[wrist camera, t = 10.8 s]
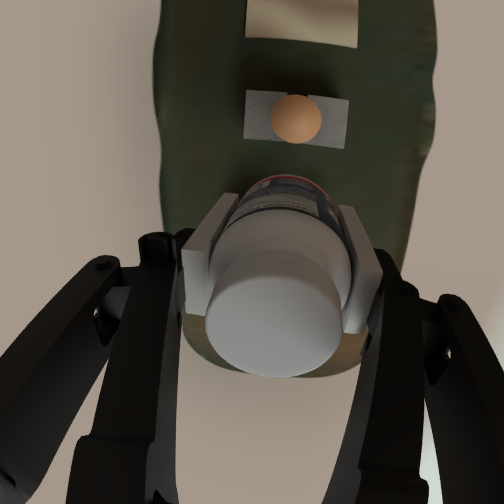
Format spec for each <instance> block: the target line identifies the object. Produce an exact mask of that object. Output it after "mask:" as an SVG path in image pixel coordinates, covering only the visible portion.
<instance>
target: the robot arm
mask: <svg viewBox="0 0 504 504" xmlns="http://www.w3.org/2000/svg"><path fill="white" fill-rule="evenodd" d="M238 201H239V194H235V193H224V194H223V195H222V196H221V198H220V199H219V200H218V202H217V203H216V204H215V205H214V207H213V208H212V209H211V211H210V212H209V213H208V214H207V216H206V217H205V218H204V220H203V221H202V222H201V224H200V225H199V226H198V228H197V229H191V228H185V229H183V230H181V231H179V232H177V233H176V234H175V236H174V235H172V234H170V233H167V232H152V233H149V234H145V235H143V236H142V237H140V238H139V240H138V244H139V253H140V260H141V262H140V264H139V266H136V267H120V261H119V259H118V258H117V257H115V256H109V255H103V256H98V257H97V258H94V259H92V260H91V261H89V262H88V263H87V264H86V265H85V266H84V267H83V268H82V269H81V270H80V271H79V272H78V273H77V274H76V275H75V276H74V277H73V278H72V279H71V280H70V281H69V282H68V283H67V284H66V285H65V286H64V287H63V288H62V289H61V290H60V291H59V292H58V293H57V294H56V295H55V296H54V297H53V298H52V299H51V300H50V301H49V302H48V303H47V304H46V306H45V307H44V308H43V309H42V310H41V311H40V312H39V313H38V314H37V315H36V316H35V318H34V319H33V320H32V321H31V322H30V323H29V324H28V325H27V326H26V328H25V329H24V330H23V331H22V332H21V333H20V334H19V336H18V337H17V338H16V339H15V340H14V342H13V343H12V344H11V345H10V346H9V348H8V349H7V350H6V351H5V353H4V354H3V355H2V356H1V357H0V504H25V503H26V502H27V501H28V500H29V499H30V498H31V496H32V495H33V494H34V492H35V491H36V490H37V488H38V487H39V485H40V484H41V482H42V480H43V478H44V476H45V475H46V473H47V471H48V468H49V466H50V464H51V462H52V460H53V458H54V456H55V454H56V452H57V450H58V448H59V446H60V444H61V442H62V441H63V438H64V437H65V435H66V433H67V431H68V429H69V427H70V425H71V424H72V422H73V419H74V418H75V416H76V414H77V412H78V411H79V409H80V407H81V405H82V404H83V402H84V400H85V398H86V396H87V395H88V393H89V391H90V389H91V388H92V386H93V384H94V382H95V381H96V379H97V377H98V375H99V374H100V372H101V370H102V369H103V367H104V365H105V364H106V362H107V360H108V359H109V361H108V364H107V367H106V371H105V375H104V379H103V383H102V387H101V391H100V395H99V399H98V403H97V408H96V412H95V417H94V421H93V426H92V430H91V432H90V434H89V435H85V436H81V437H80V439H79V440H78V441H77V444H76V447H75V450H74V455H73V460H72V465H71V471H70V477H69V483H68V490H67V496H66V504H179V501H178V493H177V488H176V479H175V449H176V448H175V447H176V408H177V386H178V368H179V352H180V338H181V326H182V313H181V308H182V306H183V305H184V303H185V306H186V313H190V314H196V315H202V316H205V315H206V310H207V307H208V304H209V301H210V298H211V296H212V291H211V287H210V282H209V265H210V259H211V256H212V253H213V250H214V248H215V245H216V243H217V241H218V239H219V237H220V236H221V234H222V232H223V230H224V229H225V227H226V225H227V223H228V222H229V220H230V218H231V216H232V215H233V213H234V211H235V209H236V208H237V206H238ZM337 219H338V222H339V225H340V229H341V232H342V235H343V238H344V241H345V245H346V248H347V252H348V255H349V260H350V264H351V288H350V292H349V296H348V299H347V301H346V303H345V305H344V307H343V309H342V310H341V311H342V322H343V330H344V333H354V334H363V332H364V330H365V327H366V324H368V328H369V332H368V335H367V337H366V340H365V342H364V345H363V348H362V350H361V353H360V355H363V356H362V361H361V366H360V371H359V376H358V381H357V386H356V390H355V395H354V399H353V403H352V407H351V411H350V415H349V419H348V423H347V427H346V430H345V434H344V437H343V441H342V445H341V448H340V451H339V455H338V458H337V461H336V464H335V467H334V471H333V474H332V477H331V480H330V483H329V485H328V488H327V492H326V494H325V497H324V500H323V501H322V504H428V497H429V486H428V483H427V481H426V480H424V479H422V478H420V475H419V469H420V460H421V450H422V438H423V423H424V398H425V402H426V406H427V411H428V415H429V420H430V424H431V429H432V434H433V439H434V444H435V449H436V455H437V461H438V468H439V475H440V482H441V490H442V499H443V504H504V371H503V369H502V367H501V365H500V363H499V361H498V359H497V357H496V355H495V353H494V351H493V349H492V347H491V345H490V343H489V341H488V339H487V337H486V336H485V334H484V332H483V330H482V328H481V327H480V325H479V323H478V322H477V320H476V318H475V316H474V314H473V313H472V311H471V309H470V308H469V306H468V305H467V303H466V302H465V301H463V300H462V299H461V298H460V297H458V296H456V295H451V294H443V295H441V296H440V297H439V300H438V302H437V303H433V302H430V301H427V300H423V299H421V298H420V297H419V292H418V289H417V288H416V287H415V286H413V285H412V284H410V283H409V282H407V281H404V280H403V279H402V278H401V275H400V273H399V271H398V269H397V268H396V265H395V263H394V261H393V259H392V257H391V256H390V255H389V254H388V253H387V252H386V251H385V250H382V249H375V248H372V245H371V243H370V241H369V239H368V237H367V235H366V232H365V230H364V228H363V226H362V224H361V222H360V220H359V218H358V216H357V214H356V212H355V210H354V208H353V207H350V206H343V205H339V209H338V215H337ZM95 309H97V313H96V314H95V315H94V311H95ZM449 350H450V352H451V357H450V358H449V356H448V354H447V353H448V352H449Z"/></svg>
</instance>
